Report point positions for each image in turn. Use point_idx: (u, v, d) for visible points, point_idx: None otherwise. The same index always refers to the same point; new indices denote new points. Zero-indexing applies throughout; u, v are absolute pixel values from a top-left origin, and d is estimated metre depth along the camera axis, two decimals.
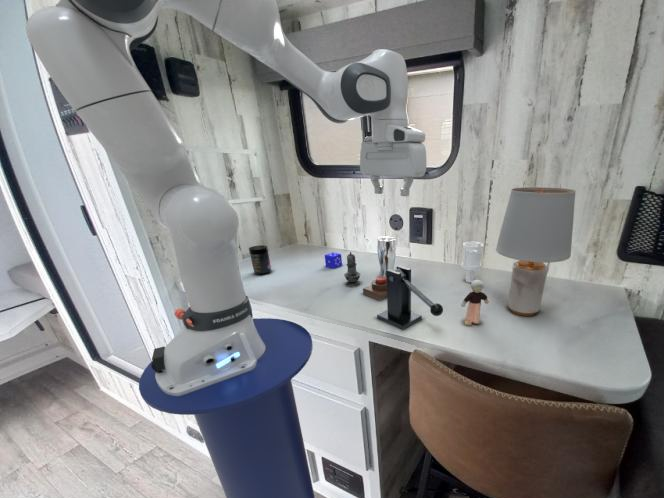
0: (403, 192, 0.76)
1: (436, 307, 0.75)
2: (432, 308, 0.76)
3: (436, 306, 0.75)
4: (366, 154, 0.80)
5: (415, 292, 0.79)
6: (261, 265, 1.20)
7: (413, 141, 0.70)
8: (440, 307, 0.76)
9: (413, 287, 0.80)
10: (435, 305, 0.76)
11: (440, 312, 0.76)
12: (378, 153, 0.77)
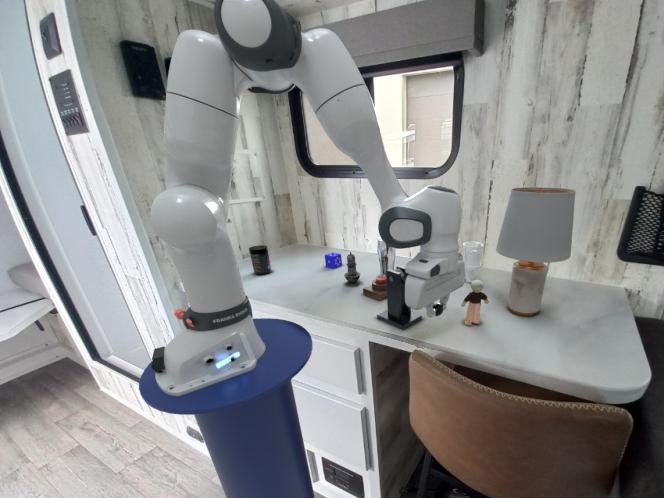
0: None
1: (436, 307, 0.75)
2: None
3: (436, 306, 0.75)
4: None
5: None
6: (261, 265, 1.20)
7: (412, 275, 0.67)
8: (440, 307, 0.76)
9: None
10: (435, 305, 0.76)
11: (440, 312, 0.76)
12: None
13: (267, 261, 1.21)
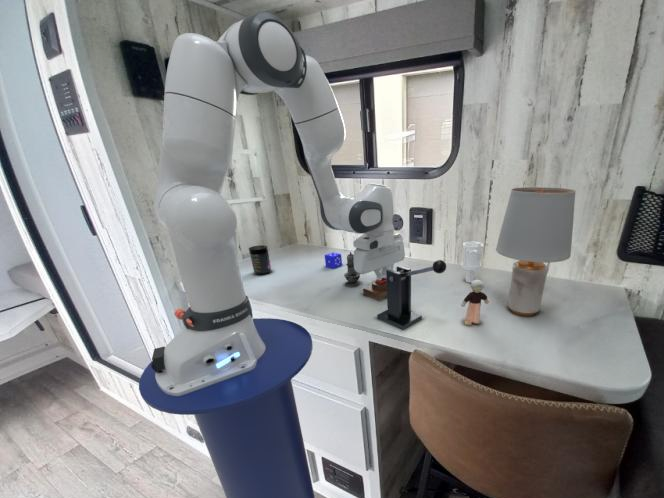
0: None
1: (435, 262, 0.71)
2: (433, 266, 0.71)
3: (435, 262, 0.71)
4: None
5: (415, 272, 0.77)
6: (261, 265, 1.20)
7: (358, 248, 0.92)
8: (439, 260, 0.71)
9: None
10: (434, 262, 0.72)
11: (442, 263, 0.70)
12: None
13: (267, 261, 1.21)
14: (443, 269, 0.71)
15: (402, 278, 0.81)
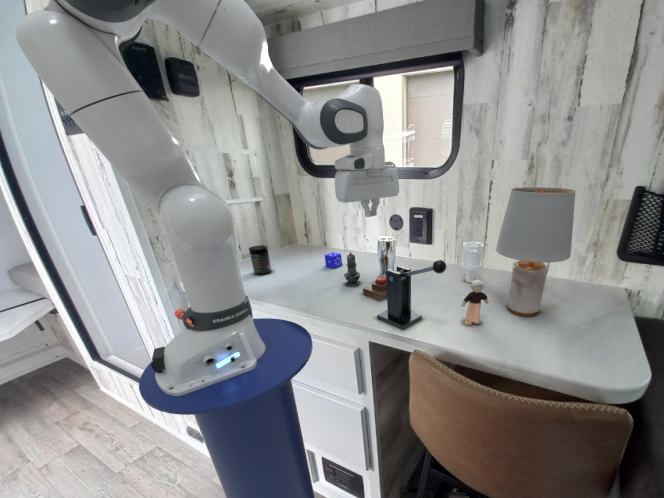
0: None
1: (435, 262, 0.71)
2: (433, 266, 0.71)
3: (435, 262, 0.71)
4: None
5: (415, 272, 0.77)
6: (261, 265, 1.20)
7: (340, 169, 0.75)
8: (439, 260, 0.71)
9: None
10: (434, 262, 0.72)
11: (442, 263, 0.70)
12: None
13: (267, 261, 1.21)
14: (443, 269, 0.71)
15: (402, 278, 0.81)
